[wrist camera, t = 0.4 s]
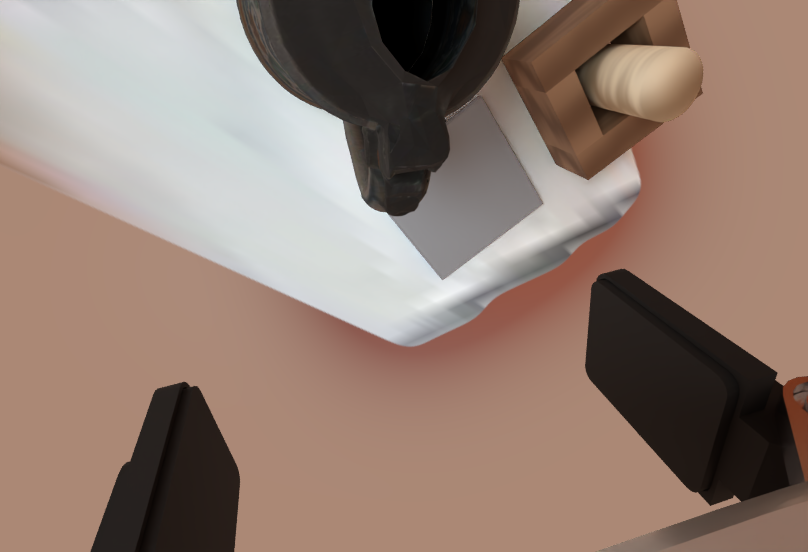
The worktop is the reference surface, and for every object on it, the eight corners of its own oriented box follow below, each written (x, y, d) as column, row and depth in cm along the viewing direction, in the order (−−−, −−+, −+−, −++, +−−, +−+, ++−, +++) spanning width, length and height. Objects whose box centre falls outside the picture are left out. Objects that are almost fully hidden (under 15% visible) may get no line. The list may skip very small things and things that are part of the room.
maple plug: (550, 67, 45) (631, 78, 34) (596, 30, 44) (693, 30, 34) (571, 112, 47) (652, 136, 37) (615, 78, 47) (710, 92, 37)
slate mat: (366, 186, 46) (367, 189, 45) (478, 95, 44) (481, 96, 44) (440, 276, 53) (442, 280, 52) (539, 201, 51) (542, 203, 51)
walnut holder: (500, 58, 43) (531, 62, 38) (616, -36, 42) (664, -45, 37) (556, 164, 50) (588, 180, 45) (657, 86, 48) (702, 93, 43)
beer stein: (377, -174, 33) (554, -532, 12) (480, 75, 43) (677, 120, 22) (191, -46, 34) (48, -168, 13) (334, 169, 44) (388, 301, 23)
